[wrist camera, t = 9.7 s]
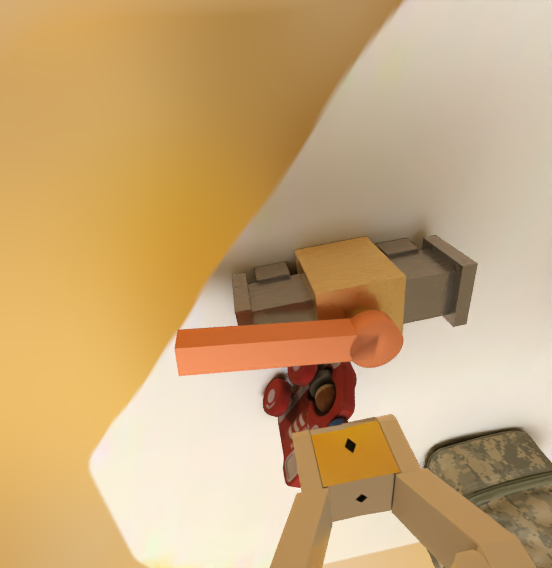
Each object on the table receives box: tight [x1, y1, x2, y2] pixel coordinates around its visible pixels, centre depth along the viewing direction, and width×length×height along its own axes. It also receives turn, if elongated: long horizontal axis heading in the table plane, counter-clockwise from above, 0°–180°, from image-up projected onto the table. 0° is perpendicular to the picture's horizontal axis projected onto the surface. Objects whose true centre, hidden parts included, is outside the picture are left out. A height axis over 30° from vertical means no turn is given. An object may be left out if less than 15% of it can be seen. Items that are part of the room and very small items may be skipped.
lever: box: [175, 310, 403, 376], centre depth 25 cm, size 16×4×2 cm, turn 88°
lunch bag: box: [426, 431, 552, 568], centre depth 49 cm, size 26×18×22 cm
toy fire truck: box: [263, 361, 356, 488], centre depth 36 cm, size 7×12×10 cm, turn 147°
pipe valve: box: [232, 235, 478, 333], centre depth 30 cm, size 19×7×9 cm, turn 98°
